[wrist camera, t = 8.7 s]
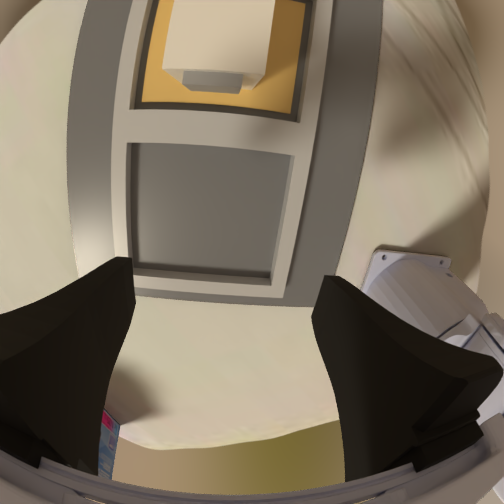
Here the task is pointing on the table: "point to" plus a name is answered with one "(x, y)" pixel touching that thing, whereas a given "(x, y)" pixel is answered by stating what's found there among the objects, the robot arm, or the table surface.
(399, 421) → the robot arm
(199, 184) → the grey flat tray
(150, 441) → the table surface
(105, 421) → the ink cartridge box
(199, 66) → the plug
